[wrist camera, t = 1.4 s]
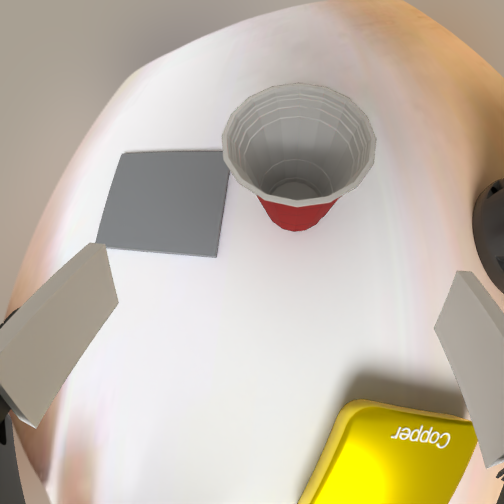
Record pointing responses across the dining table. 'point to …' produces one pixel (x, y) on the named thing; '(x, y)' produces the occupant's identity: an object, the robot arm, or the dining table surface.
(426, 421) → the element tile
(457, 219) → the dining table surface
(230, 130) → the plastic cup
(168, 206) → the card
